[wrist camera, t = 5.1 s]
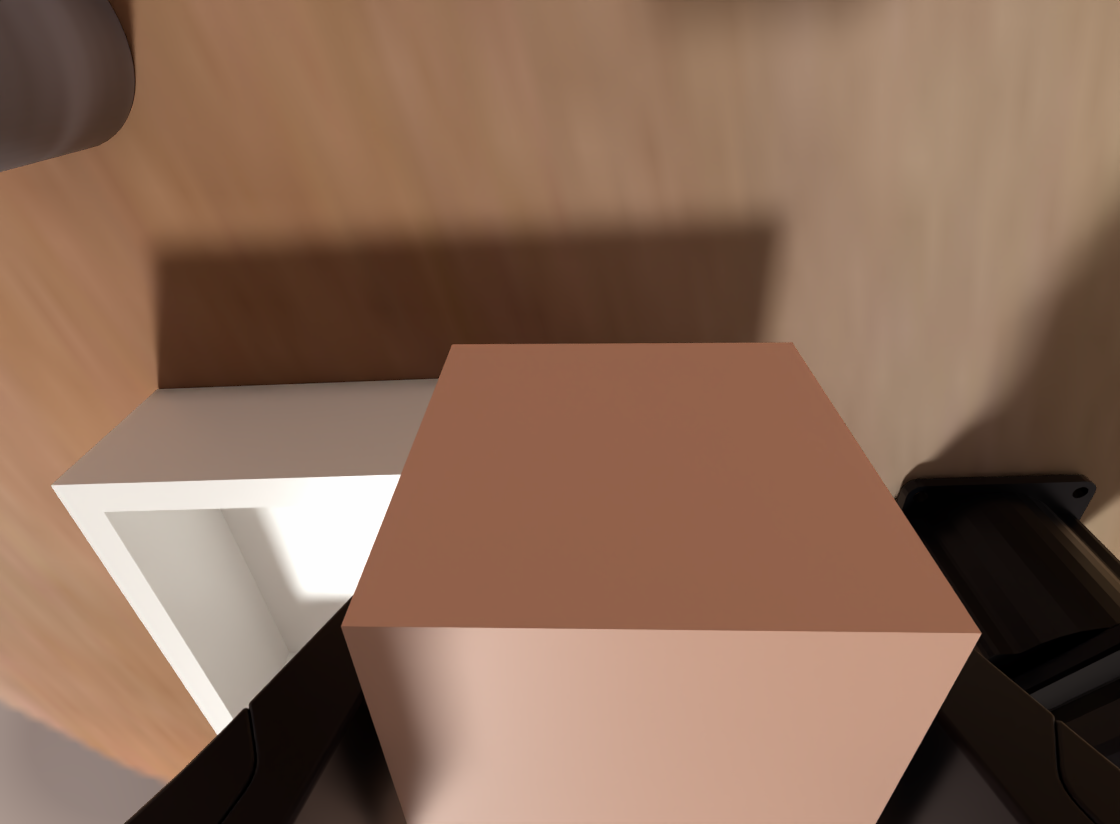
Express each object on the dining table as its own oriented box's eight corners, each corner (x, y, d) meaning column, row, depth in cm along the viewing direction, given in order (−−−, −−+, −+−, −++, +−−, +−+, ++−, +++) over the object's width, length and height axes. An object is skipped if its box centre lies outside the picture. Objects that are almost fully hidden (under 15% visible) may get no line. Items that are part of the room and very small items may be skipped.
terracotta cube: (792, 342, 9) (982, 632, 5) (743, 578, 12) (834, 897, 7) (452, 344, 9) (340, 626, 5) (482, 576, 12) (427, 886, 8)
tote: (694, 369, 20) (726, 464, 16) (673, 640, 27) (691, 753, 23) (157, 388, 21) (50, 485, 16) (283, 647, 28) (232, 757, 24)
